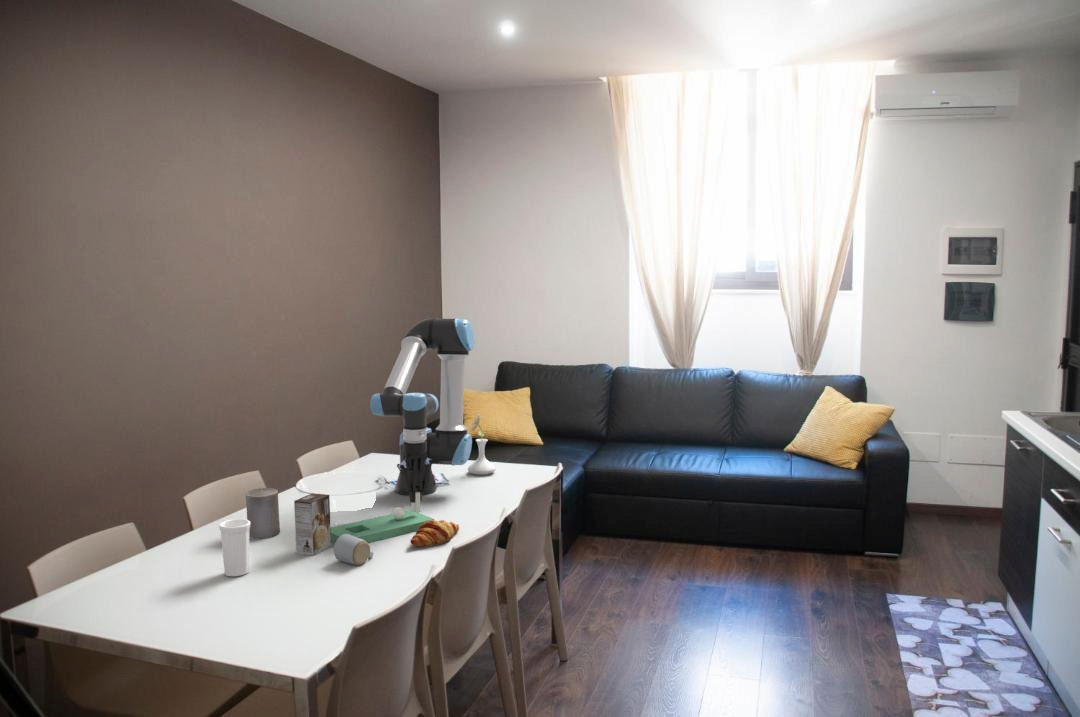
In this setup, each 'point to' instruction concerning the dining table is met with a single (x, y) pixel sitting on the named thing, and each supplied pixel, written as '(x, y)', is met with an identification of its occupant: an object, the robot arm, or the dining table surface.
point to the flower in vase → (480, 453)
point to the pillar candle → (263, 512)
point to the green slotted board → (381, 527)
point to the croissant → (434, 533)
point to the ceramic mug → (352, 549)
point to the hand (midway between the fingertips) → (416, 511)
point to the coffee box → (312, 524)
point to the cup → (235, 546)
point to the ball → (398, 513)
